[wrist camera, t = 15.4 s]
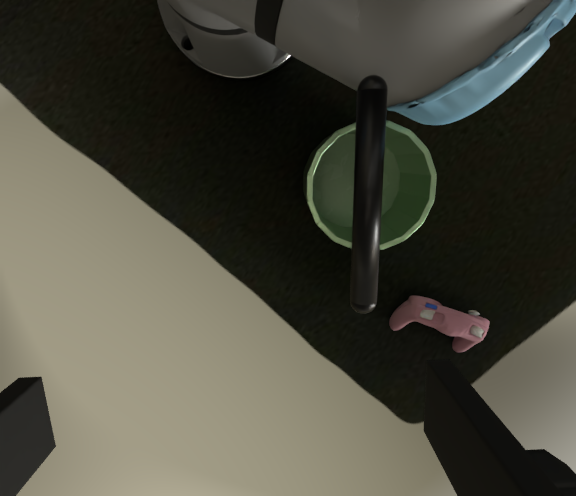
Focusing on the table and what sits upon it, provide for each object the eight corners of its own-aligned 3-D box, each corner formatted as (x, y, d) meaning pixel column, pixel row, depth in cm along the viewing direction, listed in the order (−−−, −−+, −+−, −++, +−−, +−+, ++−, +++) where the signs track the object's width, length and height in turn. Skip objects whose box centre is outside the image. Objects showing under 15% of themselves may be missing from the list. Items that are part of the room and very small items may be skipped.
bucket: (302, 240, 43) (314, 317, 22) (303, 118, 40) (316, 72, 19) (398, 240, 43) (501, 317, 22) (406, 117, 40) (535, 70, 19)
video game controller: (464, 317, 47) (504, 315, 40) (457, 353, 46) (497, 357, 39) (392, 292, 46) (420, 285, 40) (383, 328, 45) (411, 328, 38)
